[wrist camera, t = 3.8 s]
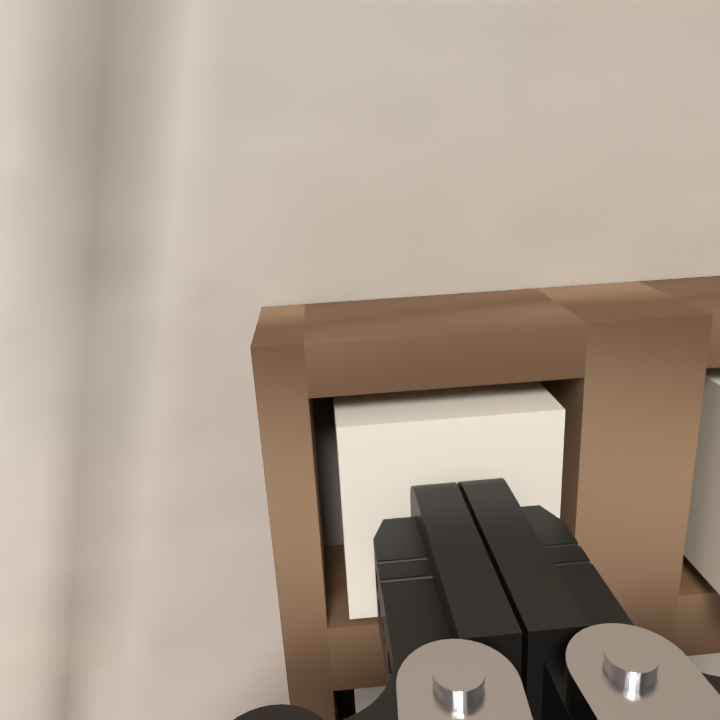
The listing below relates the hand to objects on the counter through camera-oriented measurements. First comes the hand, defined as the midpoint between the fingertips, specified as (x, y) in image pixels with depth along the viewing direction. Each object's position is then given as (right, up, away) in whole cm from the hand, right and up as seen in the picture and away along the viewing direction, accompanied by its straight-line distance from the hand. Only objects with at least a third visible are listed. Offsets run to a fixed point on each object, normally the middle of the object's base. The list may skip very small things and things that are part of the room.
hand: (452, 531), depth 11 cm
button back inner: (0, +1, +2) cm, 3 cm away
